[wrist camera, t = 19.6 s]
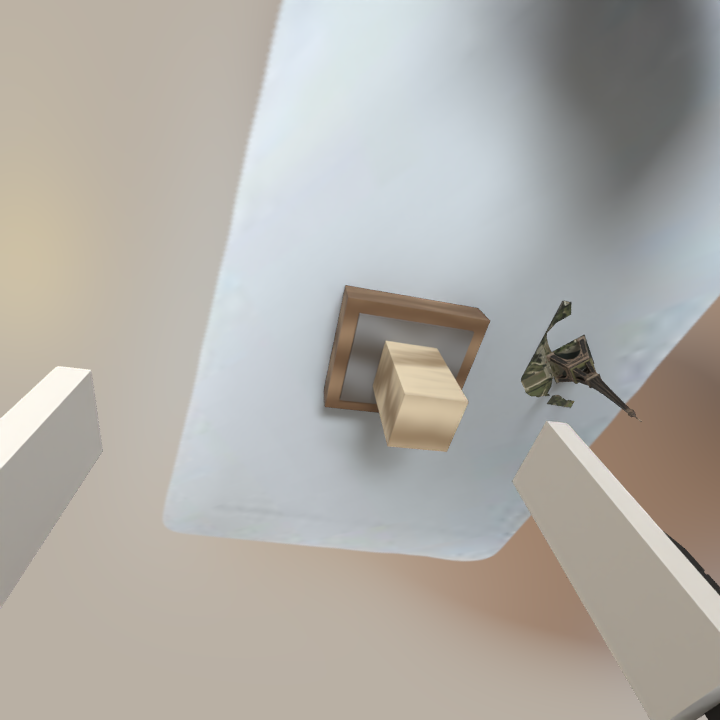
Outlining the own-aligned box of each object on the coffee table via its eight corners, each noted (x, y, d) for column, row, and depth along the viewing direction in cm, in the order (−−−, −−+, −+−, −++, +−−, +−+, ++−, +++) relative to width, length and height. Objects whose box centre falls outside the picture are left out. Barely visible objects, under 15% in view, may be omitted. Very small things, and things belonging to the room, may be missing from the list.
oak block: (385, 340, 42) (404, 394, 33) (436, 348, 43) (468, 402, 34) (372, 386, 45) (387, 446, 36) (421, 392, 46) (446, 451, 37)
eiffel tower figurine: (559, 296, 47) (640, 349, 35) (628, 311, 49) (725, 365, 37) (508, 396, 54) (561, 468, 42) (570, 405, 56) (637, 475, 44)
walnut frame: (345, 285, 42) (348, 298, 39) (478, 308, 46) (491, 322, 42) (323, 389, 49) (324, 408, 46) (441, 403, 52) (450, 422, 49)
